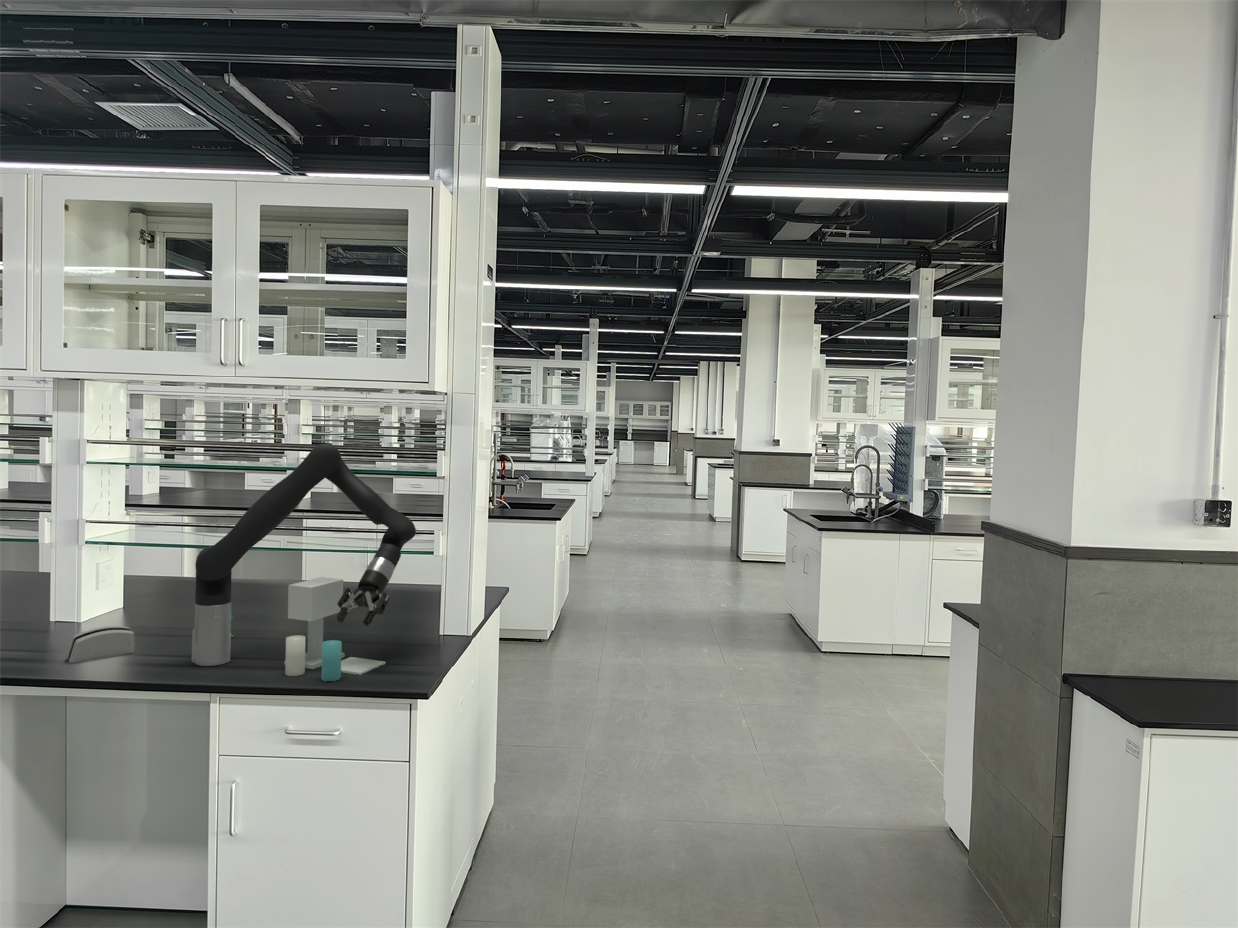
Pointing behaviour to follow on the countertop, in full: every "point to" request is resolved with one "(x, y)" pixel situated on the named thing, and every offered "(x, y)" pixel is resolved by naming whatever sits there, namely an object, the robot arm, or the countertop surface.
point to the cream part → (295, 655)
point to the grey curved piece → (101, 643)
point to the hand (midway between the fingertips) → (352, 622)
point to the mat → (359, 665)
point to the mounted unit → (314, 611)
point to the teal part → (331, 660)
